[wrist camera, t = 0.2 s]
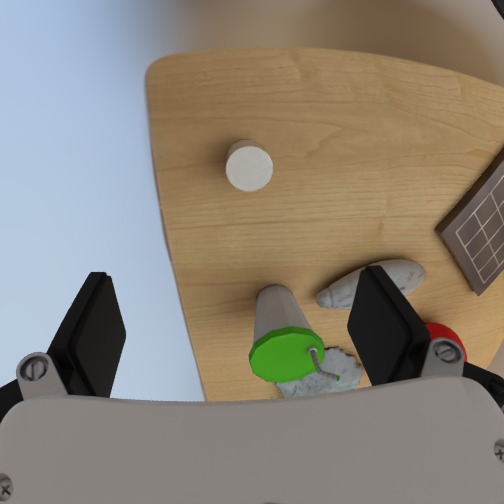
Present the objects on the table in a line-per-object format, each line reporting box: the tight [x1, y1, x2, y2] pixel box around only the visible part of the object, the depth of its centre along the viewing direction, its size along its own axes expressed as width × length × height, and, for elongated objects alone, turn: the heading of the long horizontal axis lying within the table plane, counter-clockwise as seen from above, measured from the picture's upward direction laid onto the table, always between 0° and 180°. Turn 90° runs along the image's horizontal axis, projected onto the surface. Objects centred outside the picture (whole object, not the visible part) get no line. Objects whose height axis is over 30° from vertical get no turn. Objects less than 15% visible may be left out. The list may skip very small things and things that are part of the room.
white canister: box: [226, 140, 273, 191], centre depth 29 cm, size 4×4×4 cm
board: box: [435, 148, 504, 296], centre depth 36 cm, size 20×18×2 cm
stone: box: [275, 347, 363, 398], centre depth 47 cm, size 16×4×15 cm
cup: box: [249, 284, 340, 383], centre depth 33 cm, size 8×8×15 cm
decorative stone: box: [316, 259, 426, 310], centre depth 38 cm, size 6×16×3 cm, turn 106°
